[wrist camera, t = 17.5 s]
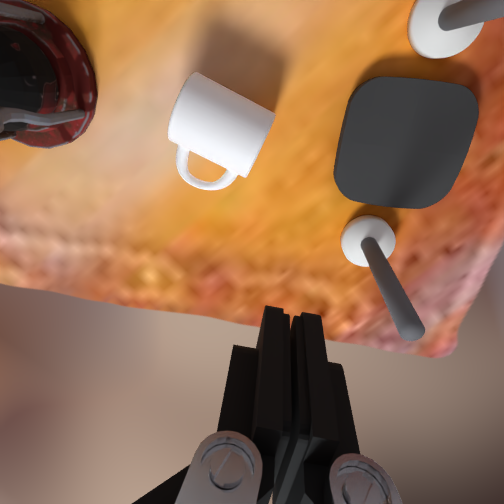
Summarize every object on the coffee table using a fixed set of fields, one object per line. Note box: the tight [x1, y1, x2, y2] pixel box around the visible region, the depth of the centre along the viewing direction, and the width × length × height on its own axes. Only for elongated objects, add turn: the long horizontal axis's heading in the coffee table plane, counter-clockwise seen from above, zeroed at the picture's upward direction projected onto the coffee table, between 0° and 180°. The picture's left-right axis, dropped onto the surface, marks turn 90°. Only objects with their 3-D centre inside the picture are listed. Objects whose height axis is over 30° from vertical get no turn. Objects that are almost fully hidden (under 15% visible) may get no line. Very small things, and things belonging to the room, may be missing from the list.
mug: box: [168, 72, 276, 190], centre depth 40 cm, size 12×10×8 cm
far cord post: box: [340, 215, 425, 341], centre depth 40 cm, size 7×7×20 cm
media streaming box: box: [334, 77, 479, 209], centre depth 41 cm, size 15×15×3 cm
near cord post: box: [407, 0, 504, 59], centre depth 28 cm, size 7×7×20 cm
